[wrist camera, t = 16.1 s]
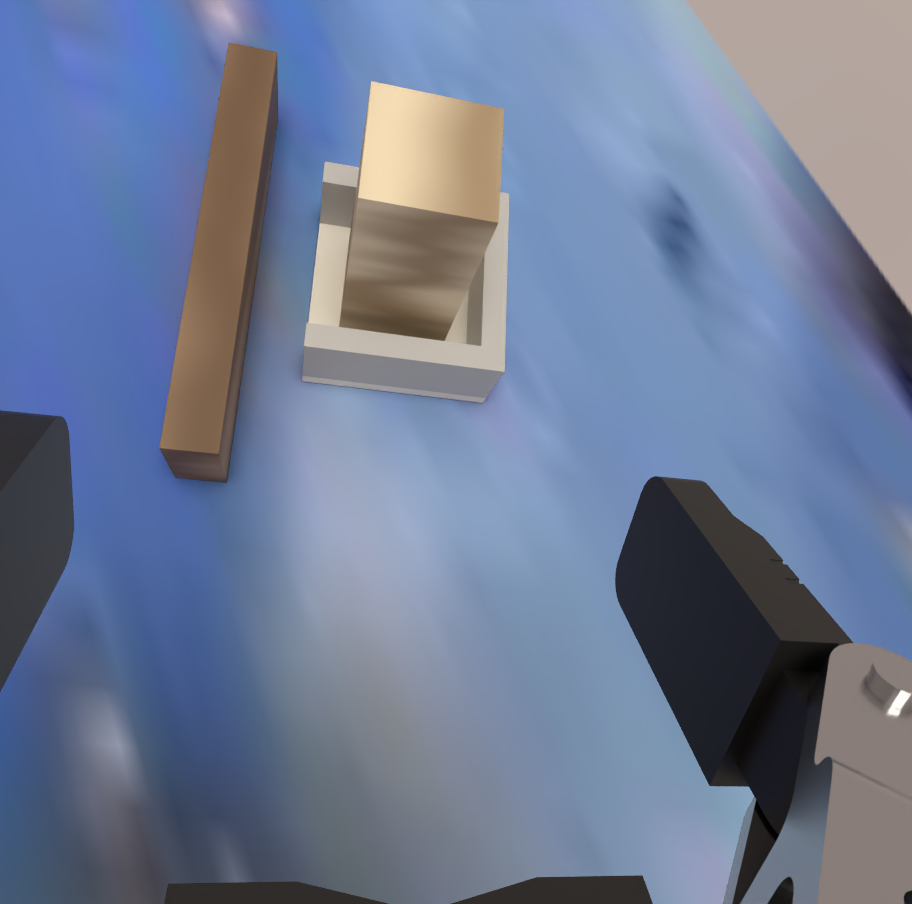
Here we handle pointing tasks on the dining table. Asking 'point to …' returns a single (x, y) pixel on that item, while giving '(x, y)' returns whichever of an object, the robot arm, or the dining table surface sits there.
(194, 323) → the rail
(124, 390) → the dining table surface
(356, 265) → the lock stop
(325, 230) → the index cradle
